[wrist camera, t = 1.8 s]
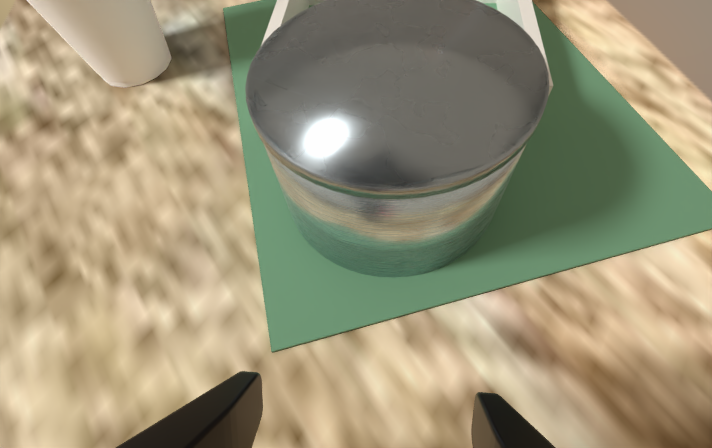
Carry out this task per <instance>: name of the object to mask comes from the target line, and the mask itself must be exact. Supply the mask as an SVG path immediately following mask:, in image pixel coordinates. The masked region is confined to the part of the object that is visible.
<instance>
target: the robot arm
mask: <svg viewBox="0 0 712 448" xmlns="http://www.w3.org/2000/svg"><path fill="white" fill-rule="evenodd" d="M262 411H263V399H262V379H261V376H260V374H259V373H257V372H246V371H241V372H239V373H237V374H235V375H234V376H232V377H230V378H229V379H227V380H226V381H224V382H222V383H221V384H219V385H217V386H216V387H214V388H212V389H211V390H209V391H208V392H206V393H204V394H203V395H201V396H199V397H198V398H196V399H194V400H193V401H191V402H190V403H188V404H186V405H185V406H183V407H181V408H180V409H178V410H176V411H175V412H173V413H172V414H170V415H168V416H167V417H165V418H163V419H162V420H160V421H158V422H157V423H155V424H154V425H152V426H150V427H149V428H147V429H145V430H144V431H142V432H140V433H139V434H137V435H136V436H134V437H132V438H131V439H129V440H127V441H126V442H124V443H122V444H121V445H119V446H118V447H116V448H252V445H253V442H254V439H255V436H256V433H257V430H258V427H259V424H260V420H261V417H262ZM471 432H472V444H473V448H555V447H554V446H553V445H552V444H551V443H550V442H549V441H548V440H547V439H546V438H545V437H544V436H543V435H542V434H540V433H539V432H538V431H537V430H536V429H535V428H534V427H533V426H532V425H531V424H530V423H529V422H528V421H527V420H525V419H524V418H523V417H522V416H521V415H520V414H519V413H518V412H517V411H516V410H515V409H514V408H513V407H512V406H510V405H509V404H508V403H507V402H506V401H505V400H504V399H503V398H502V397H501V396H500V395H498V394H495V393H483V392H478V393H477V394H476V396H475V401H474V410H473V419H472V430H471Z"/></svg>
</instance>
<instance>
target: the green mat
mask: <svg viewBox="0 0 712 448" xmlns="http://www.w3.org/2000/svg"><path fill="white" fill-rule="evenodd" d="M276 2H277V0H261V1H256V2H251V3H246V4H241V5H237V6H232V7H227V8H223V11H224V18H225V25H226V32H227V40H228V47H229V54H230V61H231V68H232V75H233V82H234V89H235V96H236V103H237V110H238V117H239V125H240V132H241V139H242V146H243V153H244V160H245V167H246V174H247V181H248V188H249V195H250V202H251V210H252V217H253V224H254V231H255V238H256V245H257V252H258V259H259V266H260V273H261V280H262V287H263V295H264V302H265V309H266V316H267V323H268V330H269V337H270V344H271V351H272V352H276V351H279V350H283V349H287V348H290V347H294V346H297V345H301V344H304V343H308V342H311V341H315V340H319V339H322V338H326V337H329V336H333V335H336V334H340V333H344V332H347V331H351V330H354V329H358V328H361V327H365V326H368V325H372V324H376V323H379V322H383V321H386V320H390V319H393V318H397V317H400V316H404V315H408V314H411V313H415V312H418V311H422V310H425V309H429V308H433V307H436V306H440V305H443V304H447V303H450V302H454V301H457V300H461V299H465V298H468V297H472V296H475V295H479V294H482V293H486V292H490V291H493V290H497V289H500V288H504V287H507V286H511V285H514V284H518V283H522V282H525V281H529V280H532V279H536V278H539V277H543V276H547V275H550V274H554V273H557V272H561V271H564V270H568V269H571V268H575V267H579V266H582V265H586V264H589V263H593V262H596V261H600V260H603V259H607V258H611V257H614V256H618V255H621V254H625V253H628V252H632V251H636V250H639V249H643V248H646V247H650V246H653V245H657V244H660V243H664V242H668V241H671V240H675V239H678V238H682V237H685V236H689V235H693V234H696V233H700V232H703V231H707V230H710V229H712V191H711V190H710V189H709V188H708V187H707V186H706V185H705V184H704V183H703V182H702V181H701V180H700V179H699V178H698V177H697V175H696V174H695V173H694V172H693V171H692V170H691V169H690V168H689V167H688V166H687V165H686V164H685V163H684V162H683V161H682V160H681V159H680V157H679V156H678V155H677V154H676V153H675V152H674V151H673V150H672V149H671V148H670V147H669V146H668V145H667V144H666V143H665V142H664V140H663V139H662V138H661V137H660V136H659V135H658V134H657V133H656V132H655V131H654V130H653V129H652V128H651V127H650V126H649V125H648V124H647V122H646V121H645V120H644V119H643V118H642V117H641V116H640V115H639V114H638V113H637V112H636V111H635V110H634V109H633V108H632V107H631V105H630V104H629V103H628V102H627V101H626V100H625V99H624V98H623V97H622V96H621V95H620V94H619V93H618V92H617V91H616V90H615V88H614V87H613V86H612V85H611V84H610V83H609V82H608V81H607V80H606V79H605V78H604V77H603V76H602V75H601V74H600V73H599V72H598V70H597V69H596V68H595V67H594V66H593V65H592V64H591V63H590V62H589V61H588V60H587V59H586V58H585V57H584V56H583V55H582V53H581V52H580V51H579V50H578V49H577V48H576V47H575V46H574V45H573V44H572V43H571V42H570V41H569V40H568V39H567V38H566V37H565V35H564V34H563V33H562V32H561V31H560V30H559V29H558V28H557V27H556V26H555V25H554V24H553V23H552V22H551V21H550V20H549V18H548V17H547V16H546V15H545V14H544V13H543V12H542V11H541V10H540V9H539V8H538V7H537V6H536V5H535V4H534V3H533V2H532V4H533V8H534V12H535V16H536V19H537V23H538V27H539V31H540V35H541V39H542V43H543V47H544V51H545V55H546V59H547V62H548V66H549V70H550V74H551V78H552V82H553V88H552V90H551V92H550V94H549V96H548V101H547V104H546V107H545V109H544V112H543V115H542V117H541V119H540V121H539V123H538V126H537V128H536V130H535V131H534V133H533V135H532V136H531V138H530V140H529V141H528V143H527V144H526V146H525V148H524V150H523V152H522V155H521V157H520V159H519V161H518V163H517V165H516V168H515V170H514V172H513V174H512V176H511V178H510V181H509V183H508V185H507V187H506V189H505V192H504V194H503V196H502V198H501V200H500V202H499V205H498V207H497V209H496V211H495V213H494V215H493V218H492V220H491V222H490V224H489V226H488V227H487V229H486V231H485V233H484V234H483V236H482V237H481V238H480V239H479V241H478V242H477V243H476V244H475V245H474V246H473V247H472V248H471V249H470V250H469V251H468V252H467V253H465V254H464V255H463V256H461V257H460V258H458V259H457V260H455V261H454V262H452V263H450V264H448V265H446V266H444V267H442V268H439V269H437V270H434V271H431V272H428V273H424V274H419V275H415V276H408V277H396V278H393V277H377V276H370V275H364V274H361V273H357V272H354V271H351V270H348V269H346V268H343V267H341V266H339V265H336V264H335V263H333V262H331V261H330V260H328V259H326V258H325V257H323V256H322V255H321V254H320V253H318V252H317V251H316V250H315V249H313V247H312V246H311V245H310V244H309V243H308V242H307V241H306V240H305V239H304V237H303V236H302V234H301V233H300V231H299V230H298V228H297V226H296V224H295V222H294V220H293V218H292V215H291V213H290V210H289V208H288V205H287V202H286V200H285V197H284V195H283V192H282V190H281V187H280V185H279V182H278V179H277V177H276V174H275V172H274V169H273V167H272V164H271V162H270V159H269V156H268V154H267V151H266V149H265V146H264V144H263V142H262V141H261V139H260V137H259V135H258V133H257V131H256V129H255V127H254V124H253V122H252V119H251V116H250V114H249V110H248V106H247V103H246V92H245V86H246V79H247V74H248V71H249V68H250V64H251V62H252V60H253V58H254V56H255V54H256V53H257V51H258V50H259V48H260V47H261V44H262V41H263V39H264V36H265V33H266V30H267V27H268V24H269V22H270V19H271V16H272V13H273V10H274V8H275V5H276ZM484 4H486V5H488V6H490V7H492V8H494V9H496V10H497V5H496V3H484ZM312 6H314V5H309V8H310V7H312Z"/></svg>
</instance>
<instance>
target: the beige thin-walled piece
mask: <svg viewBox="0 0 712 448" xmlns="http://www.w3.org/2000/svg"><path fill="white" fill-rule="evenodd" d="M323 1H326V0H277V2H276V5H275V8H274V10H273V13H272V16H271V19H270V22H269V24H268V27H267V30H266V33H265V36H264V39H263V41H262V44H263V43H264V41H265V40H266V39H267V38H268V37H269V36H270V35H271V34H272V33H273V32H274V31H275V30H276V29H277V28H279V27H280V26H281V25H282V24H283V23H285V22H286V21H287V20H289V19H290V18H292V17H294V16H295V15H297V14H298V13H300V12H302V11H304V10H306V9H308V8H309V5H316V4H319V3H321V2H323ZM476 1H479V2H482V3H496V5H497V10H498V11H499V12H501V13H503V14H504V15H506V16H508V17H509V18H510V19H512V20H513V21H514V22H516V23H517V24H518V25H519V26H521V27H522V28H523V29H524V30H525V31H526V32H527V33H528V34H529V35H530V37H531V38H532V39H533V41H534V42H535V43H536V45H537V46H538V47H539V49H540V51H541V53H542V55H543V57H544V59H545V62H546V66H547V69H548V73H549V86H550V87H549V94H550V92H551V90H552V88H553V82H552V78H551V74H550V70H549V66H548V62H547V59H546V55H545V51H544V47H543V43H542V39H541V35H540V31H539V27H538V23H537V19H536V16H535V12H534V8H533V4H532V0H476ZM262 44H261V45H262ZM549 94H548V96H549Z"/></svg>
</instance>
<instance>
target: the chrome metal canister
mask: <svg viewBox="0 0 712 448" xmlns="http://www.w3.org/2000/svg"><path fill="white" fill-rule="evenodd" d="M549 87H550V86H549V73H548V69H547V66H546V62H545V59H544V57H543V55H542V53H541V51H540V49H539V47H538V46H537V45H536V43H535V42H534V41H533V39H532V38H531V37H530V35H529V34H528V33H527V32H526V31H525V30H524V29H523V28H522V27H521V26H519V25H518V24H517V23H516V22H514V21H513V20H512V19H510V18H509V17H508V16H506V15H504V14H503V13H501V12H499V11H498V10H496V9H494V8H492V7H490V6H488V5H486V4H484V3H482V2H479V1H476V0H326V1H323V2H321V3H319V4H316V5H314V6H312V7H310V8H308V9H306V10H304V11H302V12H300V13H298V14H297V15H295V16H294V17H292V18H290V19H289V20H287V21H286V22H285V23H283V24H282V25H281V26H280V27H279V28H277V29H276V30H275V31H274V32H273V33H272V34H271V35H270V36H269V37H268V38H267V39H266V40H265V41H264V43H263V44H262V45H261V47H260V48H259V50H258V51H257V53H256V54H255V56H254V58H253V60H252V62H251V64H250V68H249V71H248V74H247V79H246V86H245V92H246V103H247V106H248V110H249V114H250V116H251V119H252V122H253V124H254V127H255V129H256V131H257V133H258V135H259V137H260V139H261V141H262V142H263V144H264V146H265V149H266V151H267V154H268V156H269V159H270V162H271V164H272V167H273V169H274V172H275V174H276V177H277V179H278V182H279V185H280V187H281V190H282V192H283V195H284V197H285V200H286V202H287V205H288V208H289V210H290V213H291V215H292V218H293V220H294V222H295V224H296V226H297V228H298V230H299V231H300V233H301V234H302V236H303V237H304V239H305V240H306V241H307V242H308V243H309V244H310V245H311V246H312V247H313V249H315V250H316V251H317V252H318V253H320V254H321V255H322V256H323V257H325V258H326V259H328V260H330V261H331V262H333V263H335V264H336V265H339V266H341V267H343V268H346V269H348V270H351V271H354V272H357V273H361V274H364V275H370V276H377V277H393V278H396V277H408V276H415V275H419V274H424V273H428V272H431V271H434V270H437V269H439V268H442V267H444V266H446V265H448V264H450V263H452V262H454V261H455V260H457V259H458V258H460V257H461V256H463V255H464V254H465V253H467V252H468V251H469V250H470V249H471V248H472V247H473V246H474V245H475V244H476V243H477V242H478V241H479V239H480V238H481V237H482V236H483V234H484V233H485V231H486V229H487V227H488V226H489V224H490V222H491V220H492V218H493V215H494V213H495V211H496V209H497V207H498V205H499V202H500V200H501V198H502V196H503V194H504V192H505V189H506V187H507V185H508V183H509V181H510V178H511V176H512V174H513V172H514V170H515V168H516V165H517V163H518V161H519V159H520V157H521V155H522V152H523V150H524V148H525V146H526V144H527V143H528V141H529V140H530V138H531V136H532V135H533V133H534V131H535V130H536V128H537V126H538V123H539V121H540V119H541V117H542V115H543V112H544V109H545V107H546V104H547V101H548V94H549Z"/></svg>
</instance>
